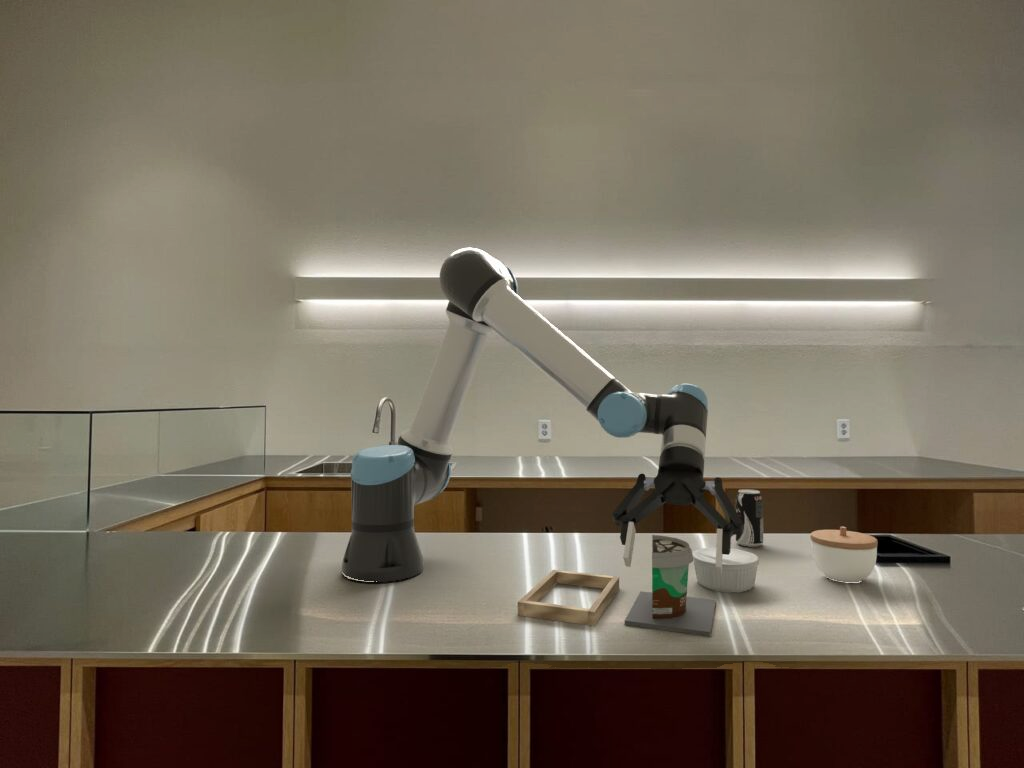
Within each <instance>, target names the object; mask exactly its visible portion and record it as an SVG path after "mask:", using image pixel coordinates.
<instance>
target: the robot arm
mask: <svg viewBox="0 0 1024 768" xmlns="http://www.w3.org/2000/svg"><path fill="white" fill-rule="evenodd" d="M439 285H440V289H441V291H442V293H443V295H444V297H445V298H446V299H447V300H448V304H447V307H446V308H445V313H446V316H447V319H448V321H449V322H448V324H447V328H446V330H445V333H444V336H443V339H442V341H441V343H440V347H439V349H438V352H437V355H436V357H435V360H434V363H433V365H432V368H431V372H430V374H429V377H428V380H427V383H426V385H425V387H424V390H423V393H422V396H421V399H420V402H419V405H418V407H417V410H416V413H415V415H414V418H413V421H412V424H411V427H409V428H408V429H405V430H404V431H402V432H401V433H400V435H399V436H398V437H399V439H398V441H397V443H396V444H386V445H384V444H383V445H379V446H371V447H367V448H364V449H362V450H361V449H360V450H359V451H357V452H356V453H355V454H354V455H353V457H352V461H351V470H350V478H351V483H350V484H351V486H350V487H351V488H350V489H351V533H350V536H349V539H348V543H347V546H346V548H345V551H344V555H343V559H342V563H341V573H342V572H343V573H344V574H345V575H346V576H349V577H351V578H354V579H358V580H364V581H374V582H376V581H377V582H383V583H388V582H387V581H393V582H396V581H395V580H399V581H402V580H401V579H404V580H406V579H405V578H408V579H411V578H413V577H412V576H414V577H416V576H418V575H420V574H421V573H423V571H424V556H423V553H422V551H421V547H420V544H419V541H418V540H419V539H418V538H417V535H416V531H415V506H416V505H419V504H422V503H426V502H428V501H431V500H433V499H434V498H436V497H437V496H439V494H441V493H442V492H443V491H444V490H445V489H446V487H447V486H448V484H449V483H450V479H451V476H452V475H451V473H452V468H451V464H450V460H451V457H452V455H453V453H454V452H453V450H454V449H453V448H452V445H451V443H450V440H451V438H452V435H453V431H454V429H455V427H456V424H457V421H458V418H459V415H460V414H461V411H462V409H463V405H464V403H465V400H466V397H467V395H468V391H469V389H470V387H471V384H472V382H473V378H474V375H475V373H476V371H477V368H478V365H479V362H480V360H481V356H482V354H483V352H484V349H485V347H486V344H487V341H488V338H489V337H490V336H491V335H493V334H495V333H497V334H498V335H499V336H500V337H502V339H504V340H505V341H506V342H507V343H508V344H509V345H511V346H512V347H513V348H514V349H515V350H517V352H518V353H520V354H521V355H522V356H523V357H524V358H526V359H527V360H528V361H529V362H530V363H532V364H533V365H534V366H535V367H536V369H538V370H540V371H541V372H542V373H543V374H544V375H546V376H547V378H548V379H550V380H551V381H553V383H554V384H556V385H557V386H558V387H560V388H561V389H562V391H564V392H565V393H566V394H567V395H569V396H570V398H572V399H574V401H575V402H576V403H578V404H579V405H580V406H581V407H582V408H584V410H586V411H587V413H589V414H590V415H591V416H592V417H593V418H594V419H595V420H596V421H598V422H599V425H600V427H601V428H602V429H603V430H604V432H606V433H607V434H608V435H610V436H612V437H615V438H619V439H620V438H624V439H625V438H630V437H634V436H635V435H636V434H639V433H643V434H654V435H662V438H661V445H660V455H659V461H658V469H657V475H656V476H655V477H654V478H652V477H648V476H647V477H646V475H645V473H639V474H638V476H637V479H636V483H635V484H634V485H633V487H632V488H631V489H630V490H629V492H628V493H627V494H626V495H625V497H624V498H623V499H622V501H621V502H620V503H619V505H618V506H617V507H616V508H615V509H614V511H613V512H612V513H611V514H612V520H613V522H614V525H616V526H621V528H620V535H619V538H620V542H621V545H622V546H624V552H623V562H624V566H625V567H627V568H631V566H632V560H633V552H634V544H635V541H636V540H635V539H636V532H637V531H636V527H635V526H636V525H637V524H639V523H640V522H641V521H642V520H644V519H645V518H646V517H647V516H648V515H650V514H651V513H652V512H653V511H655V510H656V509H657V508H661V507H662V506H663V505H664V504H666V503H668V505H680V506H685V507H686V506H689V505H691V504H692V505H693V506H694V507H695V508H696V509H697V510H698V511H700V512H701V514H702V515H704V517H705V518H706V519H707V520H708V521H709V522H710V523H711V525H713V527H714V528H715V529H716V576H722V555H723V554H726V555H729V554H730V549H731V544H732V543H731V541H732V540H731V539H732V537H733V536H736V534H737V535H742V534H743V522H742V520H741V519H740V517H739V515H738V513H737V512H736V510H735V506H734V505H733V503H732V502H731V500H730V498H729V497H728V495H727V493H726V492H725V490H724V488H723V480H722V478H721V477H718V476H717V477H715V478H714V480H706V481H705V479H704V475H705V474H704V472H705V457H706V442H707V440H706V437H707V425H708V415H709V414H708V413H709V410H708V403H709V402H708V396H707V394H706V393H705V391H704V390H703V389H702V388H700V387H699V386H698V385H697V386H696V385H695V384H692V383H680V385H674V386H673V387H672V388H671V389H669V390H668V393H667V394H659V393H657V394H654V393H646V392H636V391H632V390H630V389H629V388H628V387H627V386H626V385H624V384H623V383H622V382H620V381H619V380H618V379H617V378H615V376H614V375H613V374H611V373H610V372H609V371H607V370H606V369H605V368H604V367H603V366H602V365H600V364H599V363H598V362H597V361H596V360H595V359H593V358H592V357H591V356H590V355H589V354H588V353H586V352H585V351H584V350H583V349H582V348H581V347H579V346H578V345H577V344H576V343H575V342H573V341H572V339H570V338H569V337H568V336H566V335H565V334H564V333H563V332H561V330H559V329H558V328H557V327H556V326H555V325H553V323H551V322H550V321H548V320H547V318H545V317H544V316H543V315H542V314H541V313H539V312H538V311H537V310H536V309H534V307H532V306H531V305H530V304H528V303H527V301H526V300H524V299H523V298H521V297H520V296H519V284H518V281H517V278H516V276H515V275H514V273H513V272H512V271H511V268H510V267H508V266H507V265H506V264H505V263H504V262H502V261H500V260H498V259H497V258H494V257H493V256H491V255H490V254H489V253H487V252H486V251H484V250H482V249H479V248H476V247H474V248H473V247H464V248H459V249H458V250H455V251H454V252H452V253H451V254H450V255H448V256H447V257H446V259H445V260H444V261H443V263H442V265H441V268H440V271H439ZM651 487H654V489H653V490H652V492H651V494H649V495H648V496H647V497H646V498H644V499H643V500H642V501H641V499H642V498H643V496H644V495H645V493H646V492H649V490H650V488H651ZM707 490H708V491H709V492H710V494H711V495H712V496H715V500H716V501H717V503H718V505H719V507H720V508H721V511H722V512H723V514H724V515H725V517H726V518H727V520H726V518H725V517H723V515H722V514H721V513H719V511H718V510H717V509H716V508H715V507H714V506H713V505H712V504H711V503H710V502H709V501H708V500H707V499H706V498H705V496H704V494H703V493H704V492H705V491H707ZM640 501H641V502H640ZM639 502H640V503H639ZM422 570H423V571H422ZM419 573H420V574H419ZM417 574H418V575H417ZM415 575H416V576H415ZM410 577H411V578H410Z"/></svg>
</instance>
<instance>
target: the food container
mask: <svg viewBox="0 0 1024 768" xmlns="http://www.w3.org/2000/svg"><path fill="white" fill-rule="evenodd" d="M651 537H652V538H651V539H652V541H651V542H652V544H651V546H652V547H651V548H652V550H651V551H652V552H651V574H652V575H651V576H652V579H651V582H652V583H651V588H652V590H651V591H652V619H671V618H676V617H679V616H682V615H684V613H685V612H686V598H687V597H688V596H687V595H688V581H689V566H690V565H689V564H691V563H694V561H693V555H692V553H693V551H692V548H691V547H690V543H689V542H687V541H685V540H682V539H679V538H677V537H671V536H669V535H667V536H666V535H659V534H657V535H656V534H652V536H651Z"/></svg>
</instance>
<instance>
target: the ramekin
mask: <svg viewBox="0 0 1024 768" xmlns="http://www.w3.org/2000/svg"><path fill="white" fill-rule="evenodd" d="M692 555H693V566H694V573H695V576H696V580H697V582H698V584H699V585H700V586H701V587H704V588H705V589H708V590H712V591H715V592H720V591H721V593H731V592H737V593H744V592H743V591H745V592H747V590H748V591H750V590H751V589H752V588H753V587H754V586H755V583H756V578H757V572H758V566H759V564H760V559H759V557H758V556H757V555H756V554H755V553H752V552H750V551H746V550H742V549H736V548H731V549H730V554H729V555H726V554H723V555H722V576H716V547H705V548H699V549H696V550H693V551H692Z"/></svg>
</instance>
